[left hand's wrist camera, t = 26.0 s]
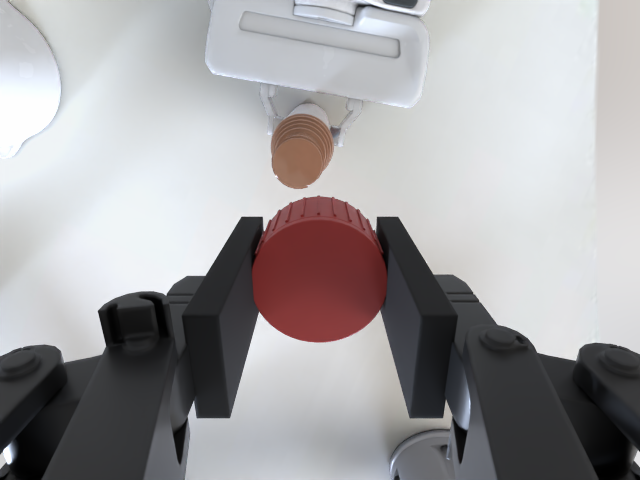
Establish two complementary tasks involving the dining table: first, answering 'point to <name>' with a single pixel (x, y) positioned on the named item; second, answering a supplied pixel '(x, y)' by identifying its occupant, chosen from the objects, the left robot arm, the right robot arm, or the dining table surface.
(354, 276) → the cap
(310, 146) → the bottle
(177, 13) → the dining table surface
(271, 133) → the right robot arm
